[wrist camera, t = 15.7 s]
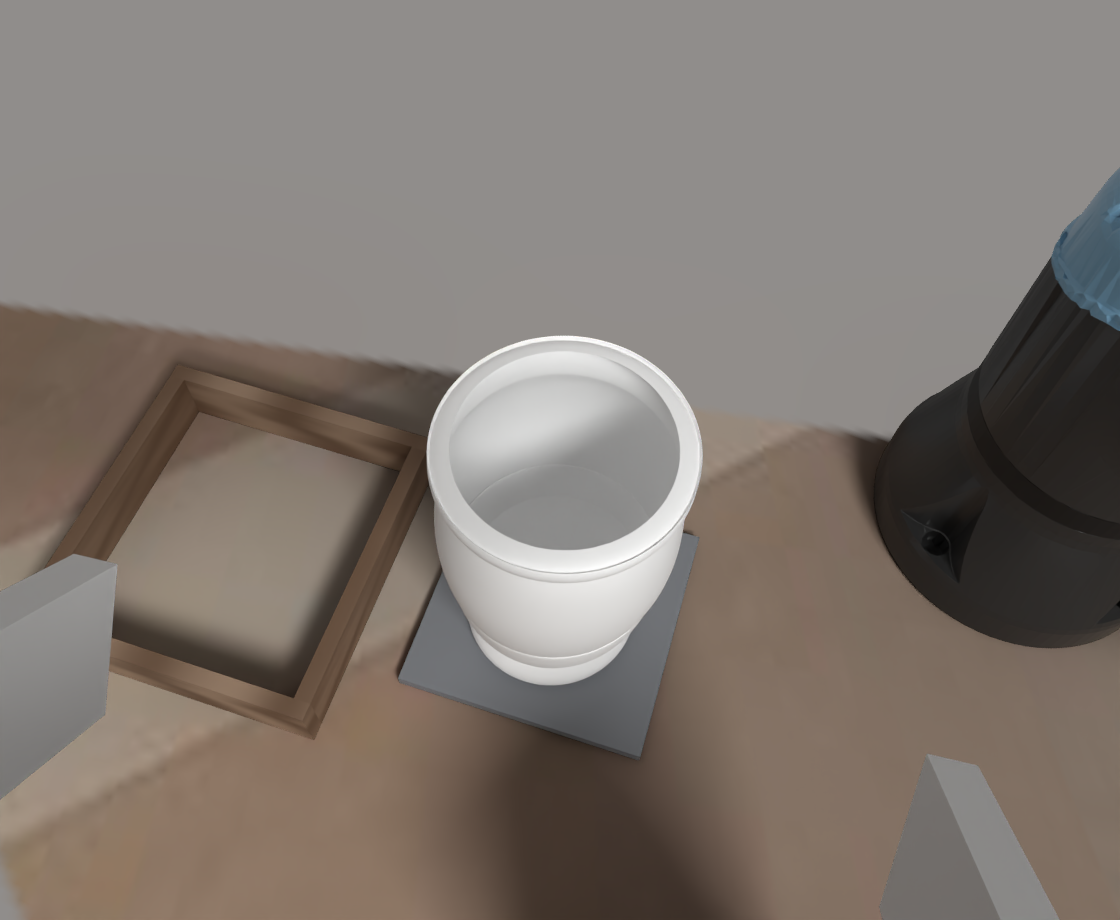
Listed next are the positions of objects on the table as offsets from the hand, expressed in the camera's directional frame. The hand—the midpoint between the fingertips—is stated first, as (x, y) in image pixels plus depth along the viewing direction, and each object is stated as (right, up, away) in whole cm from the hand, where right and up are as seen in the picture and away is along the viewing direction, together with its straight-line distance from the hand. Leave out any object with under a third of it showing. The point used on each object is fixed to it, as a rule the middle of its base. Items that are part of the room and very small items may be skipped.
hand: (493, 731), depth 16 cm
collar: (-15, 0, +35) cm, 38 cm away
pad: (+1, -3, +35) cm, 35 cm away
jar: (+1, -3, +34) cm, 34 cm away
